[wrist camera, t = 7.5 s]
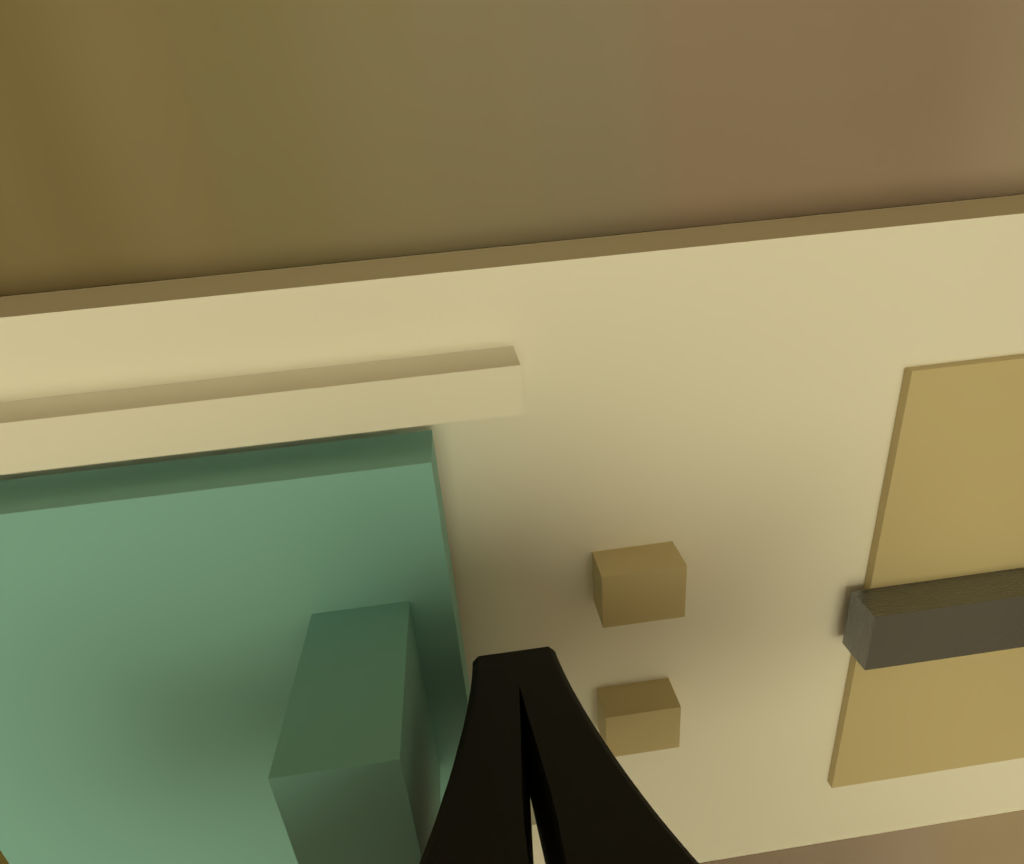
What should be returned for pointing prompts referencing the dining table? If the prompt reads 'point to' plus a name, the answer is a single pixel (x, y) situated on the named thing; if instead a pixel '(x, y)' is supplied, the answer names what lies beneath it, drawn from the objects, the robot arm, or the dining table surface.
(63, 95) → the dining table surface
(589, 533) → the board
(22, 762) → the cover
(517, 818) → the robot arm
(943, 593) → the t key
